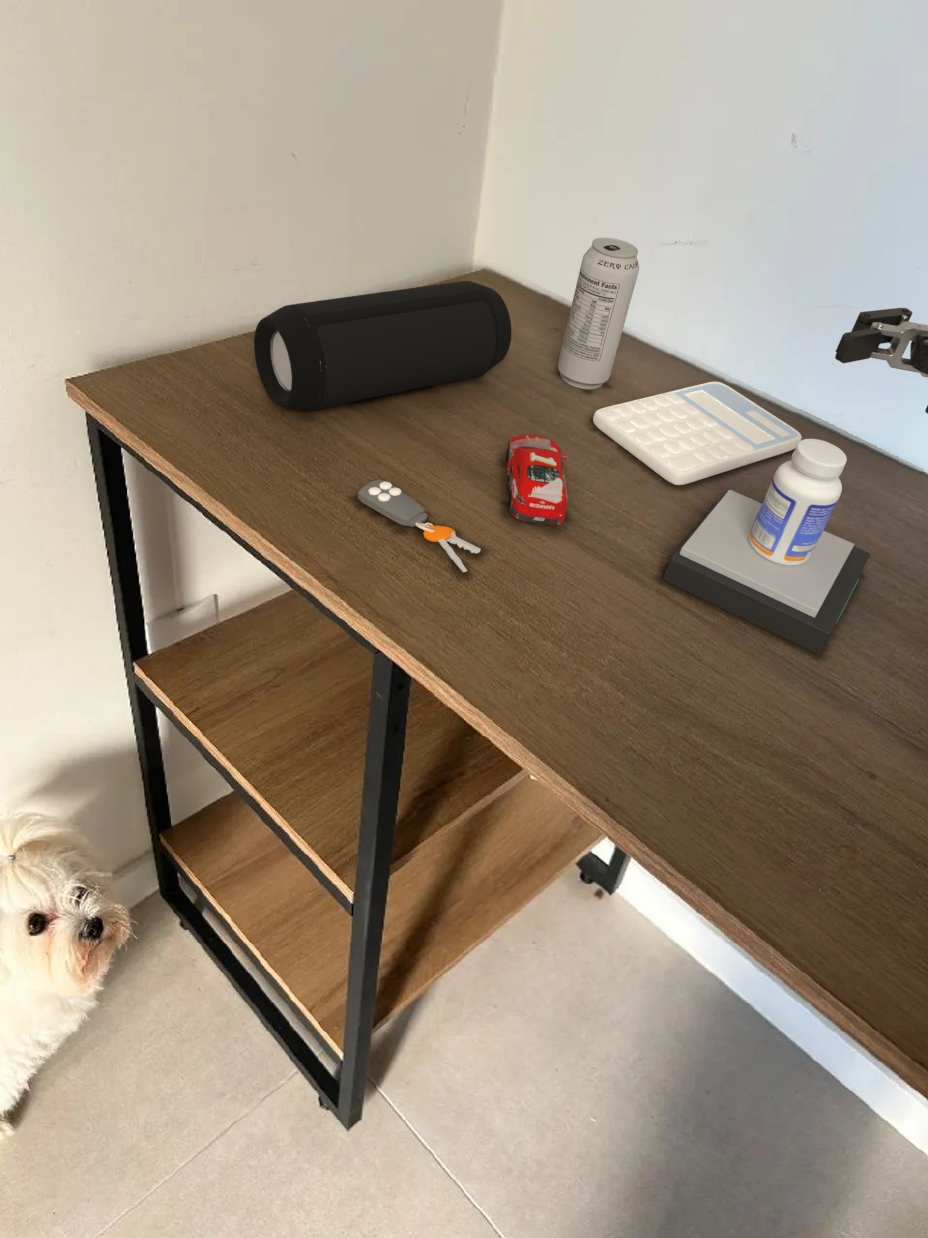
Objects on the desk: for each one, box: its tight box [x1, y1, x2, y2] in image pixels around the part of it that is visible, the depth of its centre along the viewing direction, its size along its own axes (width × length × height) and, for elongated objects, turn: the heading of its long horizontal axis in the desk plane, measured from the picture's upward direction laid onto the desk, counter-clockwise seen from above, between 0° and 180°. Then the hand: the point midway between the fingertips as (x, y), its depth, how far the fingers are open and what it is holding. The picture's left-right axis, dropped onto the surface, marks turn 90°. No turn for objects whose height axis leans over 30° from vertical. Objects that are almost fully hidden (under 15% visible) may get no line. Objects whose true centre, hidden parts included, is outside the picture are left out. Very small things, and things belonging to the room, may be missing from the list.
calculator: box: [592, 381, 803, 486], centre depth 99 cm, size 13×20×2 cm, turn 125°
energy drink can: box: [557, 237, 640, 390], centre depth 101 cm, size 6×6×15 cm
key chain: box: [357, 479, 482, 573], centre depth 79 cm, size 13×4×2 cm, turn 50°
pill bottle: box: [749, 438, 848, 565], centre depth 77 cm, size 5×5×10 cm
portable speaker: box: [253, 280, 513, 412], centre depth 94 cm, size 26×10×10 cm, turn 126°
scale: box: [662, 489, 871, 656], centre depth 81 cm, size 14×14×3 cm
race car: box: [505, 434, 569, 527], centre depth 86 cm, size 13×5×4 cm, turn 178°
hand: (887, 374), depth 69 cm, fingers open, 8 cm apart
